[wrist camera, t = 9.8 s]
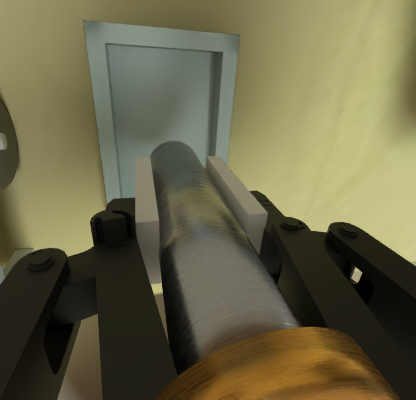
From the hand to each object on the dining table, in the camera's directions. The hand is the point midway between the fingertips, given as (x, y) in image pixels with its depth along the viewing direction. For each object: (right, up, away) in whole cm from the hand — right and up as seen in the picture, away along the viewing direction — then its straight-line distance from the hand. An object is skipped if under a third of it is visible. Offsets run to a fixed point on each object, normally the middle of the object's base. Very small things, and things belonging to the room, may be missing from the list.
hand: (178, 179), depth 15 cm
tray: (-2, +5, +10) cm, 12 cm away
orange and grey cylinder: (-1, +1, +2) cm, 2 cm away
